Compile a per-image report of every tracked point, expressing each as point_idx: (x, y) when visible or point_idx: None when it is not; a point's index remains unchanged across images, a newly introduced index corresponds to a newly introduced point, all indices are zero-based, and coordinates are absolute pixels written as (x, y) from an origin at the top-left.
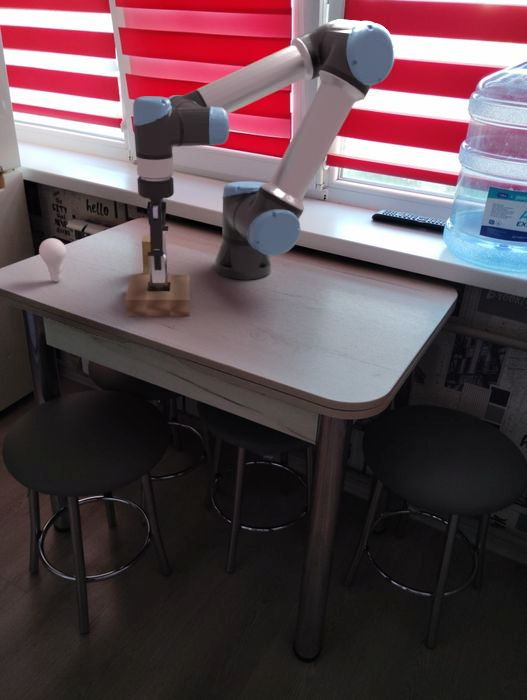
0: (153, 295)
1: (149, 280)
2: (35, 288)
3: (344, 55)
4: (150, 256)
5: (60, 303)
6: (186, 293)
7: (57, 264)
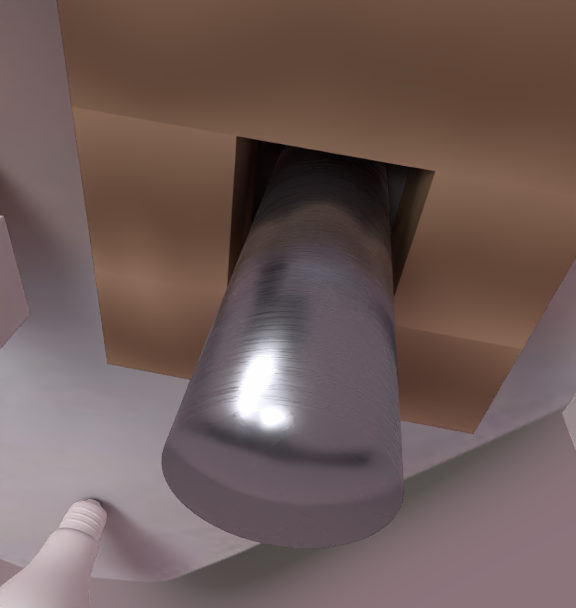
0: (473, 299)
1: (202, 283)
2: (154, 542)
3: None
4: (335, 542)
5: None
6: (544, 14)
7: (80, 580)
